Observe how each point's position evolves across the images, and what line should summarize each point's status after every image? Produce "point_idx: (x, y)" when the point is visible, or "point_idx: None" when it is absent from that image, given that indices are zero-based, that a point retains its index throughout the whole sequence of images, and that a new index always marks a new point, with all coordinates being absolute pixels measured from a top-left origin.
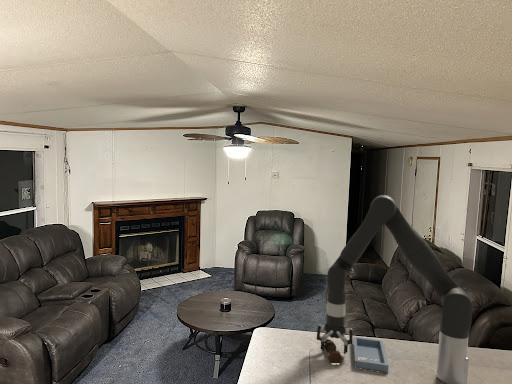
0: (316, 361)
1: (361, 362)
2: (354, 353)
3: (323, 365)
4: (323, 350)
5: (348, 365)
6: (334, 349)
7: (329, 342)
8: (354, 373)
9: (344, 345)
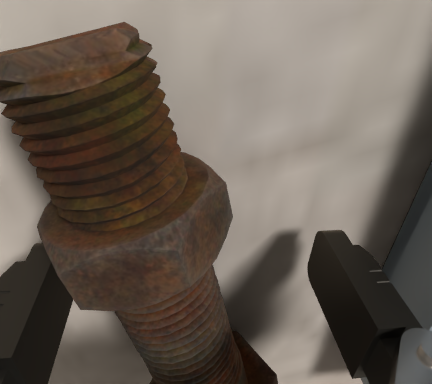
0: (55, 359)
1: None
2: (428, 291)
3: (123, 378)
4: (68, 295)
5: (309, 332)
6: (206, 378)
7: (117, 306)
8: (325, 381)
9: (354, 375)
